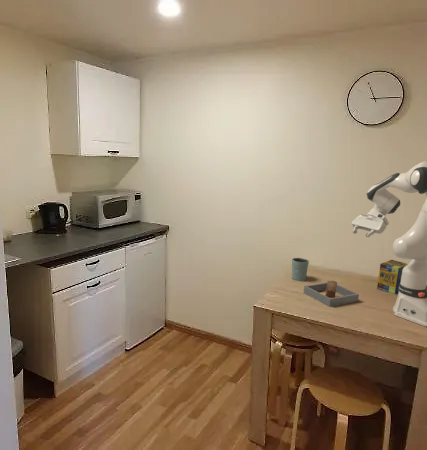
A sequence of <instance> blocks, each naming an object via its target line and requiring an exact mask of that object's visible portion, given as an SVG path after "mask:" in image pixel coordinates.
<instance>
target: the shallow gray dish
mask: <svg viewBox="0 0 427 450" xmlns="http://www.w3.org/2000/svg"><path fill="white" fill-rule="evenodd" d="M326 288H327V282H320V283H315V284H314V283H313V284H308V285H304V286H303V294H305V295H307V296H309V297H310V298H313V299H314V300H316V301H318V302H320V303H322V304H324V305H326V306H327V307H336V306H339V305H340V306H341V305H345V304H351V303H355V302H358V301H359V296H360V294H359V293H357V292H355V291H354V290H351V289H348V288H346V287H343V286H341V285H339V284H337V287H336V294H335V298H329V297H327V296H325V295H326V292H322V291H326ZM337 293H338V294H340V295H341V296H339V295H338V294H337Z"/></svg>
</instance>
